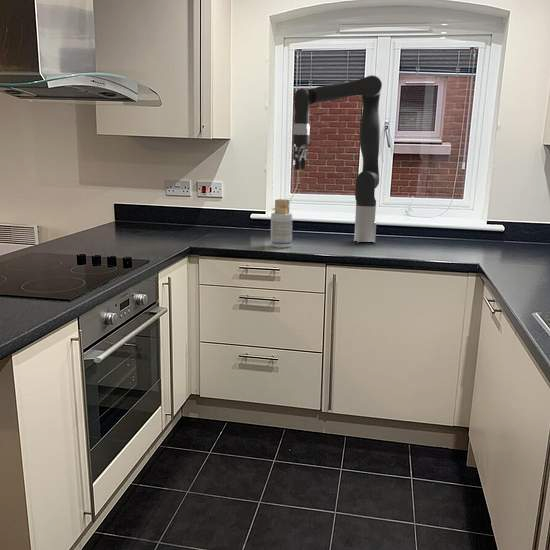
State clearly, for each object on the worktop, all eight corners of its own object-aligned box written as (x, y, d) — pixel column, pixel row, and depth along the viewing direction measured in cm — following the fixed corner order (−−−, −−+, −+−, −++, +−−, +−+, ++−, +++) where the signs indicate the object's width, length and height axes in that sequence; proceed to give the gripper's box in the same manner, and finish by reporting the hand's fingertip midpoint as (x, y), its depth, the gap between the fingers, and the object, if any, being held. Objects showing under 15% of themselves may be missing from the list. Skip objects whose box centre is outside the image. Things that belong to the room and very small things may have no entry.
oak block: (278, 212, 261) (278, 199, 260) (289, 213, 259) (289, 199, 258) (274, 213, 257) (275, 200, 255) (285, 214, 255) (285, 200, 254)
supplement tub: (295, 247, 259) (296, 214, 256) (276, 248, 255) (277, 215, 252) (285, 243, 267) (286, 211, 264) (266, 245, 263) (267, 212, 260)
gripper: (298, 134, 279) (297, 168, 283) (288, 133, 266) (287, 169, 270) (313, 134, 277) (312, 169, 280) (304, 133, 264) (303, 170, 267)
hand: (300, 169), depth 275 cm, fingers open, 8 cm apart
